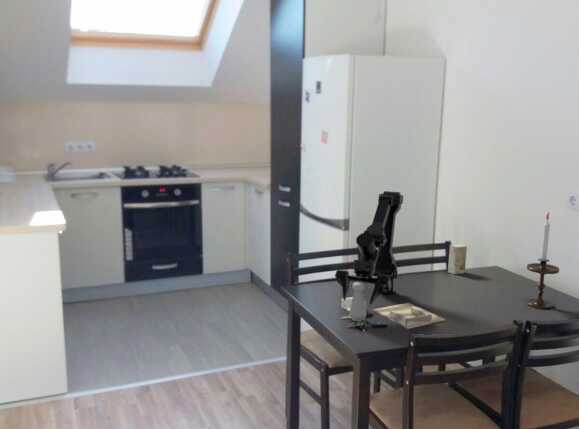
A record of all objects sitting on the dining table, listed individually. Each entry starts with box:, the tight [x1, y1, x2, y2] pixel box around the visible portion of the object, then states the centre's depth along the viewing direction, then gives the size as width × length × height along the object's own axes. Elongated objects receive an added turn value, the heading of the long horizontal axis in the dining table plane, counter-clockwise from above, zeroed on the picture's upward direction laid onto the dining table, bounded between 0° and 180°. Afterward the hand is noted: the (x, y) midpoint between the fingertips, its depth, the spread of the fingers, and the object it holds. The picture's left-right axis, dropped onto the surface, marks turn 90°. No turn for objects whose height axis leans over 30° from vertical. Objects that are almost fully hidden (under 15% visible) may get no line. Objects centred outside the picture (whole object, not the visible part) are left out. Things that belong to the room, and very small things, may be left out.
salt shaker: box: [348, 281, 367, 322], centre depth 200 cm, size 6×6×13 cm
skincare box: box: [447, 243, 468, 275], centre depth 259 cm, size 6×4×12 cm
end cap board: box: [372, 302, 446, 329], centre depth 205 cm, size 19×16×3 cm
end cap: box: [340, 296, 367, 312], centre depth 212 cm, size 6×7×3 cm
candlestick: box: [526, 211, 560, 310], centre depth 215 cm, size 11×11×35 cm
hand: (357, 301), depth 199 cm, fingers open, 9 cm apart
